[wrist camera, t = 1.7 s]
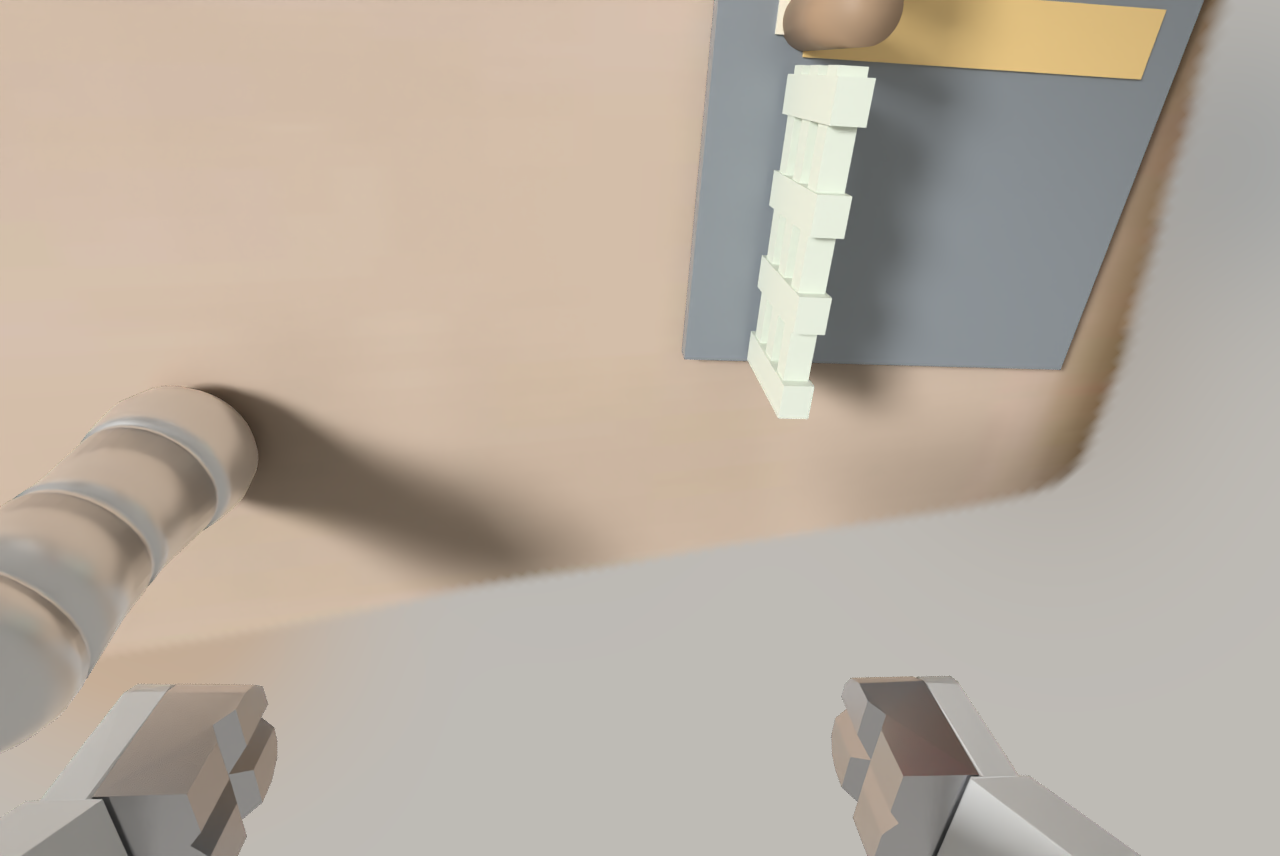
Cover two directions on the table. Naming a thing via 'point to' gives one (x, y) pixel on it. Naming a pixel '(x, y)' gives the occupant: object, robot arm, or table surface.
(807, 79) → the fence hinged
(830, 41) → the fence fixed
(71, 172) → the table surface
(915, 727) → the robot arm
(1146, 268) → the table surface
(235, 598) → the table surface
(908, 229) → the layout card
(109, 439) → the plastic bottle
